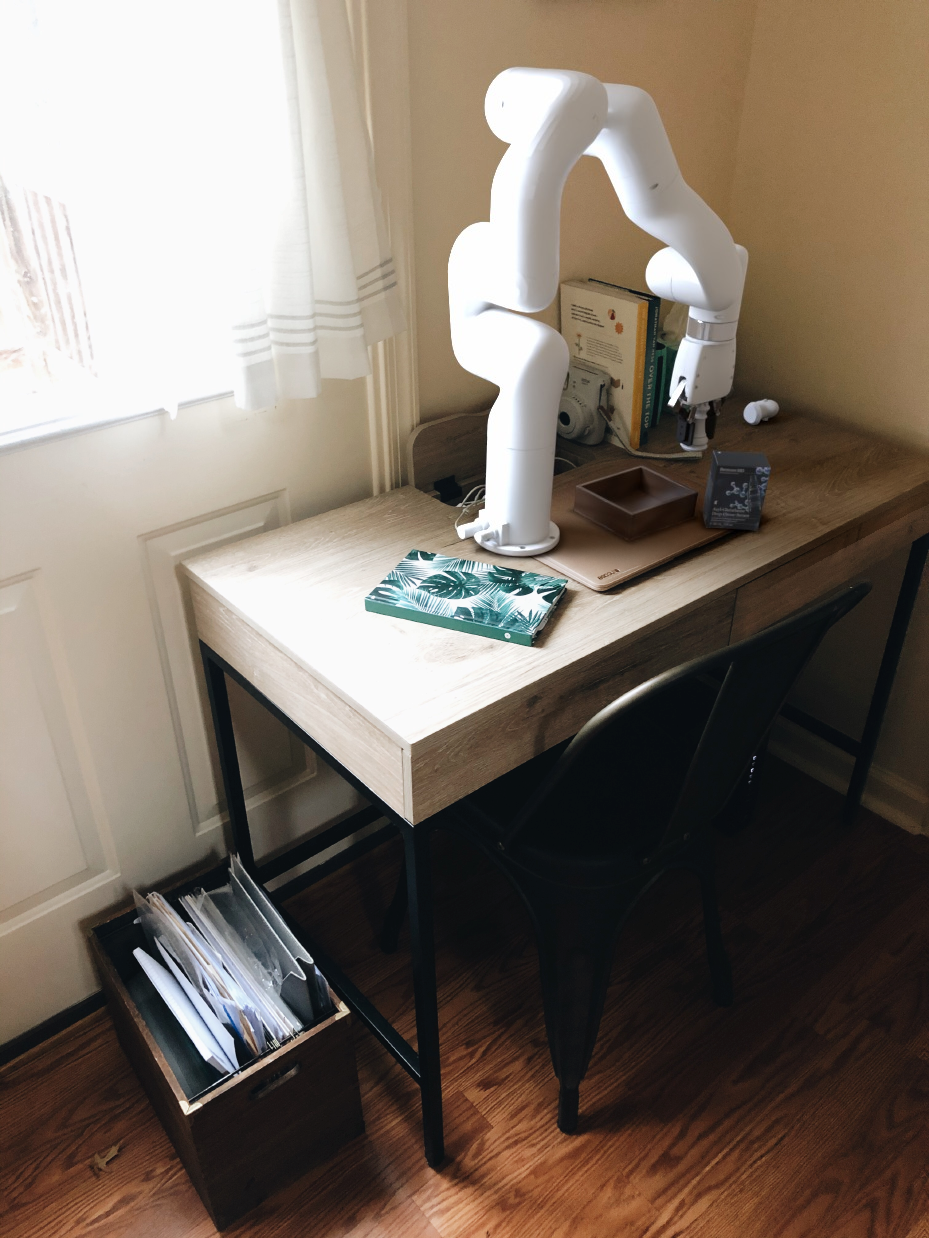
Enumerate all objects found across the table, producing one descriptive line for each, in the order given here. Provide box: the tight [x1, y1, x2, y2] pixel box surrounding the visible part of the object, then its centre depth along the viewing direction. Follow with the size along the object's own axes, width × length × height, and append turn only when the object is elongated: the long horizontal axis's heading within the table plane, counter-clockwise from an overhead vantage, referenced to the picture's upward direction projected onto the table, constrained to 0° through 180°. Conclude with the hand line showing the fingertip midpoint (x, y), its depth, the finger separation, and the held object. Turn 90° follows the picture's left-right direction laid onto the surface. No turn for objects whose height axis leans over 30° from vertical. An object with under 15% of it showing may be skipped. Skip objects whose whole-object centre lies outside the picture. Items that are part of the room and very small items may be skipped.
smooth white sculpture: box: [743, 398, 780, 426], centre depth 183 cm, size 4×8×5 cm
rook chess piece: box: [679, 402, 710, 453], centre depth 156 cm, size 4×4×8 cm
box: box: [702, 449, 772, 532], centre depth 144 cm, size 8×6×11 cm
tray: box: [573, 464, 699, 542], centre depth 147 cm, size 14×12×4 cm
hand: (694, 439), depth 158 cm, fingers closed on rook chess piece, 4 cm apart
